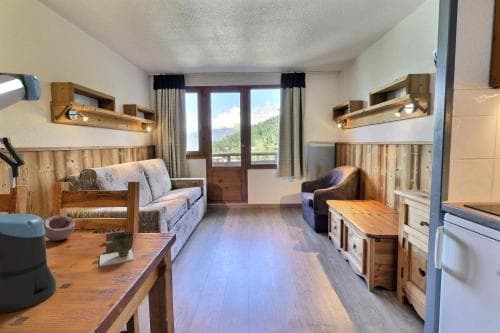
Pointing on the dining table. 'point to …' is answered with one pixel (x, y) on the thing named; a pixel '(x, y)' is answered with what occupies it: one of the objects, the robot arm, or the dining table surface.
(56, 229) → the pink bowl
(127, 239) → the cup
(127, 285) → the dining table surface
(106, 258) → the ceramic tile
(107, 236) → the walnut slot holder
